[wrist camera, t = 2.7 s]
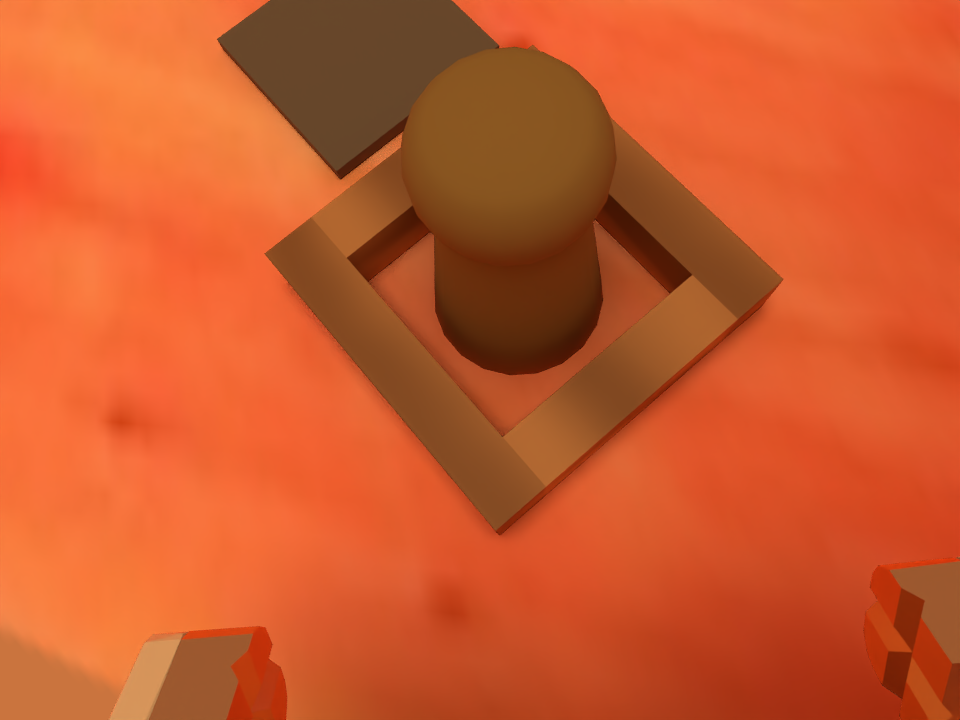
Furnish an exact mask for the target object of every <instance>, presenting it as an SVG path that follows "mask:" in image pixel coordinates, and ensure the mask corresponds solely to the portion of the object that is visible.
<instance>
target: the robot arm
mask: <svg viewBox="0 0 960 720" xmlns="http://www.w3.org/2000/svg"><path fill="white" fill-rule="evenodd" d="M870 588H871V590H872V591H873V593H874V595H875V596H876V598H877V601H876V602H875V603H874V604H873V605H872V606H871V607H870V608H869V609H868V610H867V611H866V614H865V622H864V630H863V631H864V637H865V643H866V650H867V653H868V656H869V659H870V662H871V664H872V667H873V669H874V671H875V673H876V675H877V677H878V679H879V680H880V682H881V684H882V686H884V687H885V688H887V689H888V690H890V691H891V692H893V693H894V694H896V695H897V696H899V697H900V698H902V704H901V709H900V714H899V717H900V719H901V720H960V557H957V558H943V559H933V560H924V561H915V562H905V563H896V564H887V565H878V567H877V568H876V569H875V571H874V572H873V574H872V579H871V584H870ZM271 648H272V642H271V640H270V637H269V635H268V632H267V630H266V628H265V627H260V626H255V627H241V628H227V629H213V630H199V631H189V632H179V633H166V634H153V635H152V636H151V637H150V638H149V639H148V640H147V641H146V642H145V643H144V644H143V646H142V648H141V650H140V652H139V654H138V657H137V659H136V661H135V663H134V665H133V667H132V670H131V672H130V674H129V676H128V678H127V680H126V683H125V685H124V687H123V689H122V691H121V693H120V696H119V698H118V700H117V702H116V705H115V706H114V709H113V711H112V713H111V715H110V717H109V720H286V712H287V692H286V685H285V679H284V676H283V673H282V670H281V667H280V666H278V665H277V664H275V663H274V662H272V661H271V660H269V655H270V652H271Z"/></svg>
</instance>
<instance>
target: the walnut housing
mask: <svg viewBox="0 0 960 720" xmlns="http://www.w3.org/2000/svg"><path fill="white" fill-rule="evenodd" d="M528 49H529V50H534V51H539V50H538V49H537V48H536V47H535V46H534V45H532V46H531V47H529V48H528ZM610 118H611V117H610ZM611 122H612V125H613V129H614V137H615V146H616V156H617V161H616V166H615V170H614V174H613V178H612V182H611V186H610V190H609V194H608V198H607V201H606V203H605V205H604V206H603V208H602V209H601V211H600V212H599V214H598V215H597V217H596V218H595V219H596V220H597V221H598V222H599V223H600V224H601V225H602V226H603V227H604V228H605V229H606V230H607V231H608V232H609V233H610V234H611V235H612V236H613V237H614V238H615V239H616V240H617V241H618V242H619V243H620V244H621V245H622V246H623V247H624V248H625V249H626V250H627V251H628V252H629V253H630V254H631V255H632V256H633V257H634V258H635V259H636V260H637V261H638V262H639V263H640V264H641V265H642V266H643V267H644V268H645V269H646V270H647V271H648V272H649V273H650V274H651V275H652V276H653V277H654V278H655V279H656V280H657V281H658V282H659V283H660V284H661V285H662V286H663V287H664V288H665V289H666V290H668V291H669V292H670V293H671V294H669V295H668V296H667V297H666V298H665V299H664V300H662V301H661V302H660V303H659V304H658V305H657V306H655V307H654V308H653V309H652V310H651V311H650V312H648V313H647V314H646V315H645V316H644V317H643V318H641V319H640V320H639V321H638V322H637V323H636V324H634V325H633V326H632V327H631V328H630V329H629V330H627V331H626V332H625V333H624V334H623V335H622V336H620V337H619V338H618V339H617V340H616V341H614V342H613V343H612V344H611V345H610V346H609V347H607V348H606V349H605V350H604V351H603V352H602V353H600V354H599V355H598V356H597V357H596V358H595V359H593V360H592V361H591V362H590V363H589V364H588V365H586V366H585V367H584V368H583V369H582V370H581V371H579V372H578V373H577V374H576V375H575V376H574V377H572V378H571V379H570V380H569V381H568V382H567V383H565V384H564V385H563V386H562V387H561V388H560V389H558V390H557V391H556V392H555V393H554V394H553V395H551V396H550V397H549V398H548V399H547V400H545V401H544V402H543V403H542V404H541V405H540V406H538V407H537V408H536V409H535V410H534V411H533V412H531V413H530V414H529V415H528V416H527V417H526V418H524V419H523V420H522V421H521V422H520V423H519V424H517V425H516V426H515V427H514V428H513V429H512V430H510V431H509V432H508V433H507V434H506V435H505V436H503V437H502V436H501V435H500V433H499V432H498V431H497V430H496V429H495V428H494V426H493V425H492V424H491V423H490V422H489V421H488V420H487V418H486V417H485V416H484V415H483V414H482V413H481V412H480V410H479V409H478V408H477V407H476V406H475V405H474V404H473V402H472V401H471V400H470V399H469V398H468V397H467V395H466V394H465V393H464V392H463V391H462V390H461V389H460V387H459V386H458V385H457V384H456V383H455V382H454V381H453V379H452V378H451V377H450V376H449V375H448V374H447V373H446V371H445V370H444V369H443V368H442V367H441V366H440V364H439V363H438V362H437V361H436V360H435V359H434V358H433V356H432V355H431V354H430V353H429V352H428V351H427V350H426V348H425V347H424V346H423V345H422V344H421V343H420V342H419V340H418V339H417V338H416V337H415V336H414V335H413V334H412V332H411V331H410V330H409V329H408V328H407V327H406V325H405V324H404V323H403V322H402V321H401V320H400V319H399V317H398V316H397V315H396V314H395V313H394V312H393V311H392V309H391V308H390V307H389V306H388V305H387V304H386V303H385V301H384V300H383V299H382V298H381V297H380V296H379V294H378V293H377V292H376V291H375V290H374V289H373V288H372V286H371V285H370V284H369V283H368V281H369V280H370V279H371V278H373V277H374V276H375V275H376V274H378V273H379V272H380V271H381V270H383V269H384V268H385V267H386V266H388V265H389V264H390V263H391V262H393V261H394V260H395V259H396V258H398V257H399V256H400V255H401V254H403V253H404V252H405V251H406V250H408V249H409V248H410V247H411V246H413V245H414V244H415V243H416V242H418V241H419V240H420V239H421V238H423V237H424V236H425V235H426V234H428V233H429V232H430V230H429V229H428V228H427V227H426V226H425V224H424V223H423V222H422V221H421V220H420V219H419V218H418V216H417V215H416V212H415V210H414V207H413V204H412V202H411V199H410V197H409V194H408V192H407V189H406V187H405V184H404V181H403V179H402V168H401V148H400V149H398V150H397V151H396V152H395V153H393V154H392V155H391V156H389V157H388V158H387V159H386V160H384V161H383V162H382V163H380V164H379V165H378V166H377V167H375V168H374V169H373V170H371V171H370V172H369V173H368V174H366V175H365V176H364V177H362V178H361V179H360V180H359V181H357V182H356V183H355V184H353V185H352V186H351V187H350V188H348V189H347V190H346V191H344V192H343V193H342V194H341V195H339V196H338V197H337V198H335V199H334V200H333V201H332V202H330V203H329V204H328V205H326V206H325V207H324V208H323V209H321V210H320V211H319V212H317V213H316V214H315V215H314V216H312V217H311V218H310V219H308V220H307V221H306V222H305V223H303V224H302V225H301V226H299V227H298V228H297V229H296V230H294V231H293V232H292V233H290V234H289V235H288V236H287V237H285V238H284V239H283V240H281V241H280V242H279V243H278V244H276V245H275V246H274V247H273V248H271V249H270V250H269V251H267V252H266V253H265V255H266V256H267V257H268V259H269V260H270V261H271V262H272V263H273V265H274V266H275V267H276V268H277V269H278V271H279V272H280V273H281V274H282V275H283V277H284V278H285V279H286V280H287V281H288V283H289V284H290V285H291V286H292V287H293V289H294V290H295V291H296V292H297V293H298V295H299V296H300V297H301V298H302V299H303V301H304V302H305V303H306V304H307V305H308V307H309V308H310V309H311V310H312V311H313V313H314V314H315V315H316V316H317V317H318V319H319V320H320V321H321V322H322V323H323V325H324V326H325V327H326V328H327V329H328V331H329V332H330V333H331V334H332V335H333V337H334V338H335V339H336V340H337V341H338V343H339V344H340V345H341V346H342V347H343V349H344V350H345V351H346V352H347V353H348V355H349V356H350V357H351V358H352V359H353V361H354V362H355V363H356V364H357V365H358V367H359V368H360V369H361V370H362V371H363V373H364V374H365V375H366V376H367V377H368V379H369V380H370V381H371V382H372V383H373V385H374V386H375V387H376V388H377V389H378V391H379V392H380V393H381V394H382V395H383V397H384V398H385V399H386V400H387V401H388V403H389V404H390V405H391V406H392V407H393V409H394V410H395V411H396V412H397V413H398V415H399V416H400V417H401V418H402V419H403V421H404V422H405V423H406V424H407V425H408V427H409V428H410V429H411V430H412V431H413V433H414V434H415V435H416V436H417V437H418V439H419V440H420V441H421V442H422V443H423V445H424V446H425V447H426V448H427V449H428V451H429V452H430V453H431V454H432V455H433V457H434V458H435V459H436V460H437V461H438V463H439V464H440V465H441V466H442V467H443V469H444V470H445V471H446V472H447V473H448V475H449V476H450V477H451V478H452V479H453V481H454V482H455V483H456V484H457V485H458V487H459V488H460V489H461V490H462V491H463V492H464V494H465V495H466V496H467V497H468V498H469V500H470V501H471V502H472V503H473V504H474V506H475V507H476V508H477V509H478V510H479V512H480V513H481V514H482V515H483V516H484V518H485V519H486V520H487V521H488V522H489V524H490V525H491V526H492V527H493V528H494V530H495V531H496V532H497V533H498V534H499V535H501V534H502V533H503V532H504V531H505V530H507V529H508V528H509V527H510V526H511V525H512V524H513V523H515V522H516V521H517V520H518V519H519V518H520V517H521V516H523V515H524V514H525V513H526V512H527V511H528V510H529V509H531V508H532V507H533V506H534V505H535V504H536V503H537V502H539V501H540V500H541V499H542V498H543V497H544V496H545V495H547V494H548V493H549V492H550V491H551V490H552V489H553V488H555V487H556V486H557V485H558V484H559V483H560V482H561V481H563V480H564V479H565V478H566V477H567V476H568V475H569V474H571V473H572V472H573V471H574V470H575V469H576V468H577V467H579V466H580V465H581V464H582V463H583V462H584V461H585V460H587V459H588V458H589V457H590V456H591V455H592V454H593V453H595V452H596V451H597V450H598V449H599V448H600V447H601V446H603V445H604V444H605V443H606V442H607V441H608V440H609V439H611V438H612V437H613V436H614V435H615V434H616V433H617V432H619V431H620V430H621V429H622V428H623V427H624V426H625V425H627V424H628V423H629V422H630V421H631V420H632V419H633V418H635V417H636V416H637V415H638V414H639V413H640V412H641V411H643V410H644V409H645V408H646V407H647V406H648V405H649V404H651V403H652V402H653V401H654V400H655V399H656V398H657V397H659V396H660V395H661V394H662V393H663V392H664V391H665V390H667V389H668V388H669V387H670V386H671V385H672V384H673V383H675V382H676V381H677V380H678V379H679V378H680V377H681V376H683V375H684V374H685V373H686V372H687V371H688V370H689V369H691V368H692V367H693V366H694V365H695V364H696V363H697V362H699V361H700V360H701V359H702V358H703V357H704V356H705V355H707V354H708V353H709V352H710V351H711V350H712V349H713V348H715V347H716V346H717V345H718V344H719V343H720V342H721V341H723V340H724V339H725V338H726V337H727V336H728V335H729V334H731V333H732V332H733V331H734V330H735V329H736V328H737V327H739V326H740V325H741V324H742V323H743V322H744V321H745V320H747V319H748V318H749V317H750V316H751V315H752V314H753V313H755V312H756V311H757V310H758V309H759V308H760V307H761V306H762V305H763V304H764V303H765V302H766V300H767V299H768V298H769V297H770V295H771V294H772V293H773V292H774V291H775V289H776V288H777V287H778V286H779V284H780V283H781V282H782V281H783V278H782V277H781V276H779V275H778V274H777V273H776V272H775V271H774V270H773V269H772V268H771V267H770V266H769V265H768V264H767V263H766V262H764V261H763V260H762V259H761V258H760V257H759V256H758V255H757V254H756V253H755V252H754V251H753V250H752V249H751V248H750V247H748V246H747V245H746V244H745V243H744V242H743V241H742V240H741V239H740V238H739V237H738V236H737V235H736V234H735V233H733V232H732V231H731V230H730V229H729V228H728V227H727V226H726V225H725V224H724V223H723V222H722V221H721V220H720V219H719V218H717V217H716V216H715V215H714V214H713V213H712V212H711V211H710V210H709V209H708V208H707V207H706V206H705V205H704V204H702V203H701V202H700V201H699V200H698V199H697V198H696V197H695V196H694V195H693V194H692V193H691V192H690V191H689V190H687V189H686V188H685V187H684V186H683V185H682V184H681V183H680V182H679V181H678V180H677V179H676V178H675V177H674V176H673V175H671V174H670V173H669V172H668V171H667V170H666V169H665V168H664V167H663V166H662V165H661V164H660V163H659V162H658V161H656V160H655V159H654V158H653V157H652V156H651V155H650V154H649V153H648V152H647V151H646V150H645V149H644V148H643V147H642V146H640V145H639V144H638V143H637V142H636V141H635V140H634V139H633V138H632V137H631V136H630V135H629V134H628V133H627V132H625V131H624V130H623V129H622V128H621V127H620V126H619V125H618V124H617V123H616V122H615V121H614V120H613V119H612V118H611Z"/></svg>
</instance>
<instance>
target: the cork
mask: <svg viewBox="0 0 960 720" xmlns="http://www.w3.org/2000/svg"><path fill="white" fill-rule="evenodd" d="M616 161H617V156H616V146H615V137H614V129H613V125H612V122H611V118H610V116H609V114H608V112H607V110H606V108H605V106H604V104H603V102H602V100H601V98H600V95H599V93H598V91H597V90H596V89H595V88H594V87H593V86H592V85H591V84H590V83H589V82H588V81H587V80H586V79H585V78H584V77H583V76H582V75H581V74H580V73H579V72H577V71H576V70H575V69H574V68H573V67H571V66H570V65H568V64H566V63H564V62H562V61H560V60H558V59H556V58H554V57H552V56H550V55H548V54H546V53H544V52H540V51H534V50H529V49H524V48H518V47H509V48H498V49H486V50H483V51H481V52H478V53H475V54H473V55H470V56H467V57H465V58H462V59H459V60H458V61H456V62H455V63H453V64H452V65H451V66H449V67H448V68H447V69H445V70H444V71H443V72H441V73H440V74H438V75H437V76H436V77H435V78H434V79H433V80H432V81H431V82H430V83H429V84H428V86H427V87H426V88H425V90H424V91H423V92H422V94H421V95H420V96H419V98H418V99H417V100H416V102H415V103H414V104H413V106H412V108H411V111H410V114H409V117H408V120H407V123H406V126H405V129H404V132H403V135H402V143H401V168H402V179H403V181H404V184H405V187H406V189H407V192H408V194H409V197H410V199H411V202H412V204H413V207H414V210H415V212H416V215H417V216H418V218H419V219H420V220H421V221H422V222H423V223H424V224H425V226H426V227H427V228H428V229H429V230H430V231H431V232H432V234H433V235H434V259H435V311H436V314H437V317H438V320H439V322H440V325H441V327H442V330H443V332H444V335H445V336H446V337H447V339H448V340H449V341H450V342H451V343H452V345H453V346H454V347H455V348H456V349H457V351H458V352H459V353H460V354H461V355H462V356H464V357H465V358H467V359H469V360H470V361H472V362H474V363H475V364H477V365H479V366H480V367H482V368H483V369H487V370H492V371H496V372H500V373H504V374H508V375H516V374H531V373H538V372H541V371H544V370H546V369H549V368H551V367H554V366H557V365H559V364H562V363H563V362H564V361H566V360H567V359H568V358H569V357H571V356H572V355H573V354H574V353H576V352H577V351H578V350H579V349H581V348H582V347H583V346H584V344H585V343H586V341H587V339H588V338H589V336H590V335H591V333H592V332H593V330H594V329H595V327H596V325H597V322H598V318H599V314H600V310H601V306H602V302H603V295H602V285H601V275H600V268H599V261H598V254H597V247H596V240H595V233H594V226H593V221H594V220H595V218H596V217H597V215H598V214H599V212H600V211H601V209H602V208H603V206H604V205H605V203H606V201H607V198H608V194H609V190H610V186H611V182H612V178H613V174H614V170H615V166H616Z"/></svg>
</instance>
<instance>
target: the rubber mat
mask: <svg viewBox="0 0 960 720" xmlns="http://www.w3.org/2000/svg"><path fill="white" fill-rule="evenodd" d="M217 40H218V42H219V43H220V45H221V47H222V48H223V50H224V51H225V52H226V53H227V54H228V55H229V56H230V57H231V58H232V60H233V61H234V62H235V63H236V64H237V65H238V66H239V67H240V68H241V70H242V71H243V72H244V73H245V74H246V75H247V76H248V77H249V78H250V80H251V81H252V82H253V83H254V84H255V85H256V86H257V87H258V88H259V90H260V91H261V92H262V93H263V94H264V95H265V96H266V97H267V98H268V99H269V101H270V102H271V103H272V104H273V105H274V106H275V107H276V108H277V109H278V111H279V112H280V113H281V114H282V115H283V116H284V117H285V118H286V119H287V121H288V122H289V123H290V124H291V125H292V126H293V127H294V128H295V129H296V131H297V132H298V133H299V134H300V135H301V136H302V137H303V138H304V139H305V140H306V142H307V143H308V144H309V145H310V146H311V147H312V148H313V149H314V150H315V152H316V153H317V154H318V155H319V156H320V157H321V158H322V159H323V160H324V162H325V163H326V164H327V165H328V166H329V167H330V168H331V169H332V170H333V172H334V173H335V174H336V175H337V176H338V177H339V178H340V179H341V178H342V177H344V176H345V175H346V174H348V173H349V172H350V171H352V170H353V169H354V168H355V167H357V166H358V165H359V164H361V163H362V162H363V161H364V160H366V159H367V158H368V157H370V156H371V155H372V154H373V153H375V152H376V151H377V150H379V149H380V148H381V147H382V146H384V145H385V144H386V143H388V142H389V141H390V140H392V139H393V138H394V137H395V136H397V135H398V134H399V133H401V132H402V131H403V130H404V129H405V126H406V123H407V120H408V117H409V114H410V111H411V108H412V106H413V104H414V103H415V102H416V100H417V99H418V98H419V96H420V95H421V94H422V92H423V91H424V90H425V88H426V87H427V86H428V84H429V83H430V82H431V81H432V80H433V79H434V78H435V77H436V76H437V75H438V74H440V73H441V72H443V71H444V70H445V69H447V68H448V67H449V66H451V65H452V64H453V63H455V62H456V61H458V60H459V59H462V58H465V57H467V56H470V55H473V54H475V53H478V52H481V51H483V50H486V49H498V48H499V45H498V44H497V43H496V42H495V41H494V40H493V39H492V38H491V37H490V36H489V35H487V34H486V33H485V32H484V31H483V30H482V29H481V28H480V27H479V26H478V25H477V24H476V23H475V22H474V21H473V20H472V19H471V18H470V17H469V16H468V15H466V14H465V13H464V12H463V11H462V10H461V9H460V8H459V7H458V6H457V5H456V4H455V3H454V2H453V1H452V0H270V1H269V2H267V3H266V4H265V5H263V6H262V7H260V8H259V9H258V10H256V11H255V12H254V13H252V14H251V15H249V16H248V17H247V18H245V19H244V20H243V21H241V22H240V23H238V24H237V25H236V26H234V27H233V28H232V29H230V30H229V31H227V32H226V33H225V34H223V35H222V36H221V37H219V38H218V39H217Z"/></svg>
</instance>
